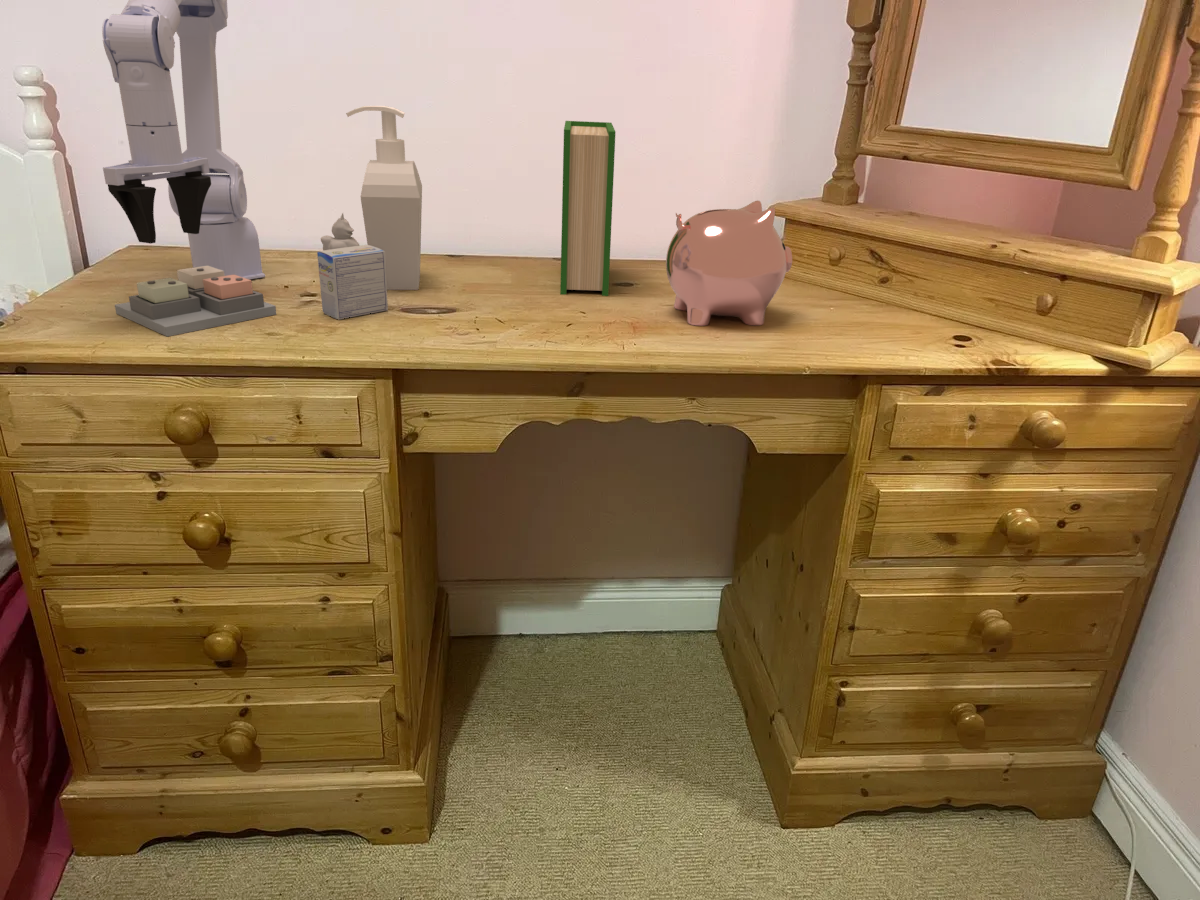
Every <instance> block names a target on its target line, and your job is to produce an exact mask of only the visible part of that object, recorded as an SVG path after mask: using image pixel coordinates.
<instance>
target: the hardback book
mask: <svg viewBox="0 0 1200 900" xmlns="http://www.w3.org/2000/svg"><path fill="white" fill-rule="evenodd" d="M616 132H617V131H616V129H615V127H614V126H613V124H612V122H603V121H601V122H600V121H583V120H582V121H581V120H579V121H578V120H565V122H564V127H563V151H562V152H563V154H562V155H563V156H562V157H563V159H562V201H561V202H562V203H561V240H560V241H561V243H560V244H561V245H560V246H561V247H560V248H561V249H560V253H561V255H560V286H559V287H560V290H559V291H560V292H559V294H560V295H561V296H562V295H564V296H566V295H567V292H568V291H567V290H571V291H573V290H575V291H600V292H601V296H602V297H609V291H610V290H609V288H610V287H609V285H610V263H611V242H612V241H611V240H612V220H613V219H612V218H613V217H612V216H613V196H614V191H613V190H614V176H615V174H614V171H615V156H616V155H615V153H616V152H615V151H616Z"/></svg>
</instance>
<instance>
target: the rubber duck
mask: <svg viewBox="0 0 1200 900" xmlns="http://www.w3.org/2000/svg"><path fill="white" fill-rule="evenodd" d="M354 231H355V230H354V229H353V228H352V226H351V225H350V223H349V221H348V219H345V217H344V212H342V213H341V215H340V217H338V218H337V220H336V221H335V222H334V223H333V225H332V226H331V233H332V235H333V236H331V235H323V236H321V237H320V242H321V243H322V251H323V250H330V249H337V248H345V247H353V246H361V245H360V243H359V242H358V241H357V240H356V238H354V237H353V236H352V235H353V232H354Z"/></svg>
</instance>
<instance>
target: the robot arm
mask: <svg viewBox="0 0 1200 900" xmlns="http://www.w3.org/2000/svg"><path fill="white" fill-rule="evenodd" d="M228 13H229V11H228V0H128V1H127V3H126V4H125V6H124V7H123V10H122V12H121V13H120V14H117V13H115V14H114V13H113V14H111V15H110V16H109V18H105V19H104V20H103V22H102V27H101V28H102V29H101V31H102V43H103V47H104V51H105V55H106V57H107V60H108V62H109V64H110V69H111V72H112V77H113V79H114V80H113V81H114V82H115V83H117V84H118V86H119V87H118V88H119V94H120V99H121V104H122V110H123V117H124V122H125V128H126V134H127V140H128V146H129V152H130V157H131V159H129V160H128V162H125V163H121V164H116V165H111V166H104V167H102V170H103V175H104V181H105V184H106V185H107V188H108V189H107V190H108V192H109V193H110V194H111V195H112V196H113V198H114V199H115V200H116V201H117V203H118V204H119V205H120V207H121V209H122V210H123V211H124V213H125V214H126V217H127V219H128V220H129V223H130V224H131V227H132V229H133V231H134V233H135V236H136V238H137V240H138V242H139V243H143V244H144V243H146V244H155V243H156V238H157V233H156V226H155V225H156V224H155V215H154V213H155V212H154V208H155V206H154V205H155V195H156V192H157V188H156V187H153V186H146V184H145V183H143V182H147V181H155V180H160V179H166V181H167V183H168V186H167V188H168V189H167V191H168V200H169V204H170V206H171V209H172V211H173V212H174V213H175V214H176V215H177V216H178V217H179V218H178V219H179V223H180V226H181V229H182V232H183V234H187V236H188V244H189V245H188V246H189V250H190V257H191V258H190V259H191V263H192V268H194V267H201V266H210V267H213V268H216V269H219V270H222V271H224V275H225V276H227V275H237V276H240V277H243V278H246V279H249V280H254V279H262V278H265V277H266V274H265V273H264V272H263V266H262V259H261V249H260V248H261V247H260V241H259V235H258V231H257V229H256V226H255V225H254V223H253V222H252V220H251V219H249V218H248V217H245V216H244V215H245V214H246V213H247V210H248V209H247V208H248V196H247V188H246V184H245V180H244V172H243V169H242V167H241V166H240V164H239V163H238V162H236V160H234V159H233V158H231V157H230V155H227V154H226V153H224V152H223V149H222V138H221V137H222V135H221V121H220V120H221V118H220V105H219V104H220V103H219V101H220V99H219V87H218V71H217V57H216V54H217V53H216V48H217V47H216V45H217V33H218V32H220V31H222V30H223V29H225V28H227V26H228V17H229V14H228ZM175 34H177V36H178V40H179V53H180V68H181V79H182V80H181V81H182V95H183V97H182V98H183V110H184V125H185V126H184V127H185V137H186V142H185V143H186V149H185V150H184V151H183V150H182V146H181V139H180V138H181V137H180V132H179V124H178V116H177V111H176V105H175V96H174V90H173V85H172V84H173V83H172V77H171V71H170V70H171V69H172V68H173V67H174V64H175V47H176V45H175V44H176V42H175V38H174V36H175ZM182 151H183V152H182Z"/></svg>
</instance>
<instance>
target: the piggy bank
mask: <svg viewBox="0 0 1200 900" xmlns="http://www.w3.org/2000/svg"><path fill="white" fill-rule="evenodd" d="M762 207H763V206H762V202H761V201H760V200H755V201H753V202H751V203H749V204H747V205H746V206H742V207H741V208H735V209H734V208H733V209H732V208H719V209H709V210H705V211H701V212H698V213H696V214H694V215H692V216H691V217H689V218H688V219H686V220H685V221H684V222H682V213H677V212H675V217H676V221H675V223H676V224H675V225H676V229H677V230H676V231H675V233H674V235H673V236H672V238H671V240H670V242H669V245H668V248H667V251H666V257H665V270H666V275H667V279H668V281H669V285H670V287H671V289H672V291H673V293H674V294H675V299H674V304H673V308H674V309H675V310H678V311H687V312H686V315H687V316H686V317H687V318H686V319H687V320H686V321H687V324H688V325H691V326H693V327H705V326H708V325H709V324H710V321H711V317H712V316H718V317H737V318H740V320H741V321H742V322H743V324H745V325H748V326H762V325H764V323H765V314H766V309H767V308H768V306H769V304H770V303H771V302H772V300H773V299H774V297H775V295H776V293H777V292H778V291H779V289H780V287H781V285H782V283H783V281H784V279H785V276H786V273H788V272H790V271H791V268H792V263H793V255H792V254H793V253H792V249H791V248H790V247H789V246H786V245H785V243H784V242H783V240H782V238H781V237H780V235H779V234H778V231H777V230H776V227H775V226H774V221H775V216H776V209H775V207H769V208H767V209H765V210H763V208H762Z"/></svg>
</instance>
